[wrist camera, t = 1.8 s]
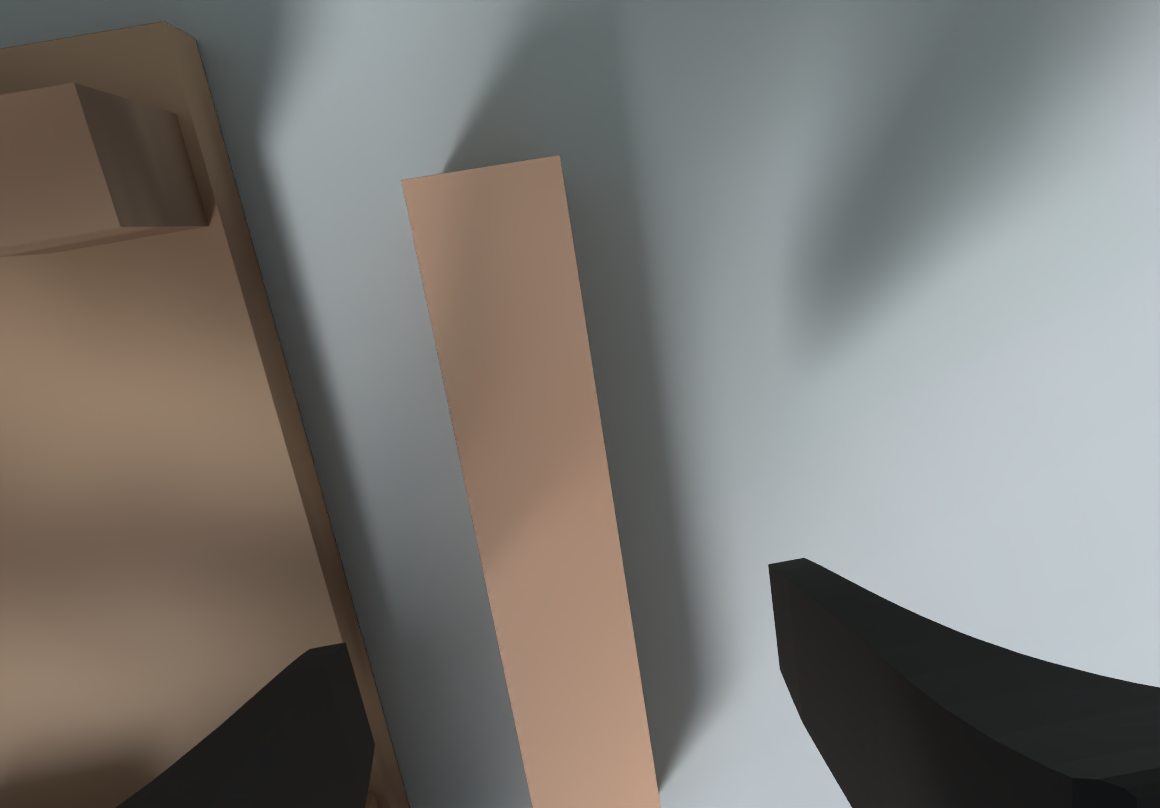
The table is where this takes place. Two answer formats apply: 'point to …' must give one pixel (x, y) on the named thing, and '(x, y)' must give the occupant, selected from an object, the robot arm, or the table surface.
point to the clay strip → (536, 474)
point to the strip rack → (143, 435)
